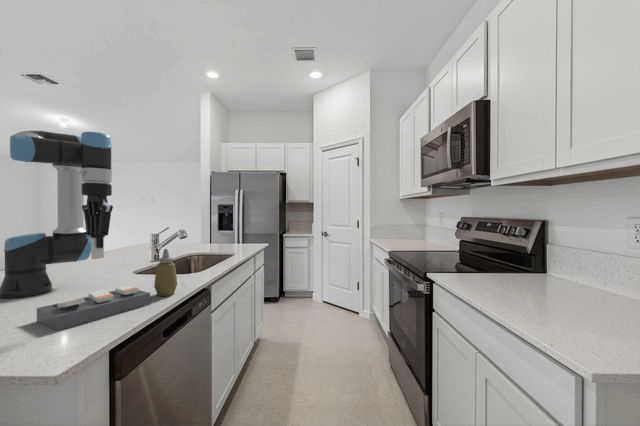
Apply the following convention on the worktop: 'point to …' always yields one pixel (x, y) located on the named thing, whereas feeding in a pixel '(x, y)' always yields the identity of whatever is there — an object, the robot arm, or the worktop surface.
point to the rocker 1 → (70, 303)
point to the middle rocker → (101, 296)
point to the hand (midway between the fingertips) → (97, 258)
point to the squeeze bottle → (165, 276)
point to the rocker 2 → (127, 290)
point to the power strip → (90, 310)
